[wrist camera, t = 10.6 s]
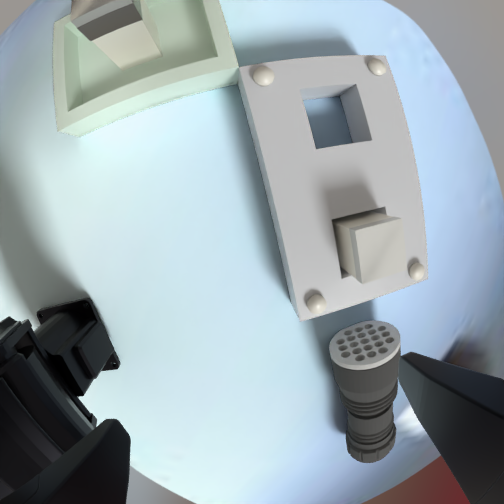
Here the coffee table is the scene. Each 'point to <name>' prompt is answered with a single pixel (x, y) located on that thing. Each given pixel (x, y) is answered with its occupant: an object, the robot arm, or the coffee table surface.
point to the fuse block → (333, 172)
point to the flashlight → (367, 385)
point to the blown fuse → (119, 29)
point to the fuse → (370, 245)
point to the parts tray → (141, 67)
